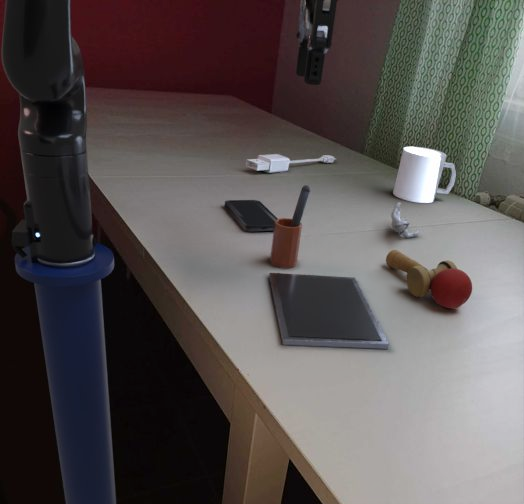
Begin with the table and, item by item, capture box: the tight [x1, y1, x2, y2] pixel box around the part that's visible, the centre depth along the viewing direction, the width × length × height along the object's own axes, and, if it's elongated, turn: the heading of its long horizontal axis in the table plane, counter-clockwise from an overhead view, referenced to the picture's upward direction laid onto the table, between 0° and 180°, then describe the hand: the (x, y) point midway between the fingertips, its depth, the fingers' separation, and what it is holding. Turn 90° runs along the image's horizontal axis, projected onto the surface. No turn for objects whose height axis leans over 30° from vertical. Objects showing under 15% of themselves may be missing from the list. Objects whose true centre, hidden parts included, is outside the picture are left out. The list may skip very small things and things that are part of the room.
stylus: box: [290, 185, 311, 227], centre depth 87 cm, size 1×1×13 cm
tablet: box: [268, 272, 390, 350], centre depth 78 cm, size 14×20×1 cm
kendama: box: [385, 249, 473, 309], centre depth 87 cm, size 8×6×18 cm
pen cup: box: [269, 217, 303, 269], centre depth 89 cm, size 4×4×7 cm
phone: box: [224, 199, 279, 233], centre depth 108 cm, size 8×1×15 cm
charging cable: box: [245, 153, 337, 174], centre depth 145 cm, size 5×32×3 cm, turn 133°
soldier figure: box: [390, 202, 420, 239], centre depth 109 cm, size 8×5×12 cm
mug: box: [392, 146, 457, 204], centre depth 130 cm, size 14×10×11 cm
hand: (307, 80), depth 76 cm, fingers open, 8 cm apart
